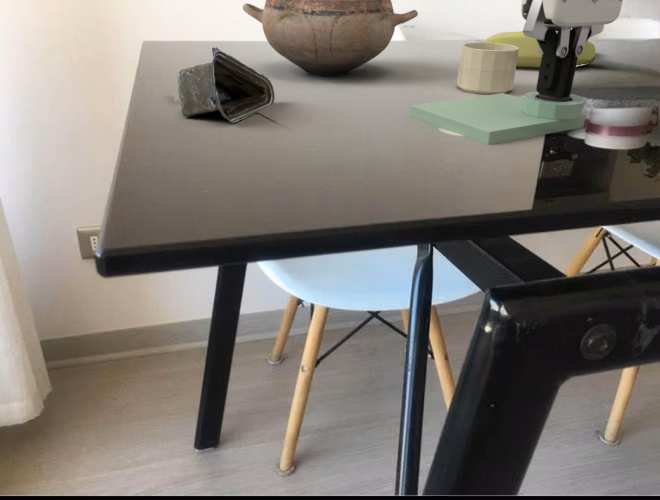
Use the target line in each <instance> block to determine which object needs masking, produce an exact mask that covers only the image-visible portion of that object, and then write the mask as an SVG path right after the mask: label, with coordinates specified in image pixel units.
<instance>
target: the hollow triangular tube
mask: <svg viewBox="0 0 660 500" xmlns="http://www.w3.org/2000/svg"><path fill="white" fill-rule="evenodd" d="M211 52H212V57H213V59H212V60H211V61H212V62H206V63H204V64H198V65H195V66H193V67H192V66H191V67H186V68H182V69H180V70H178V72H177V95H178V98H179V110H180V113H181V115H182V116H183V117H192V116H196V115H204V114H209V113H211V112H212V113H213V112H217V111H219V112H220V114H221V115H222V117H223V118H224V119H226V120H227V121H228V122H231V123H236V122H240V120H241V121H242V120H245V119H246V118H249V117H250V116H253V115H255V114H257V113H258V112H259V111H261V110H262V109H264V108H268V107H269V106H272V105H274V102H275V99H276V97H275V90H274V85H273V84H272V81H271V80H270V79H269V76H265V75H264V74H263V73H258V72H257V70H255V69H253V68H252V67H249V66H248V65H246V64H245V63H243V62H242V61H240V60H239V59H236V58H235V57H233V56H232V55H231V54H228V53H226V52H224V51H222V50H221V49H220V48H218V47H217V46H216V47H212V48H211Z"/></svg>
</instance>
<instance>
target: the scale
mask: <svg viewBox="0 0 660 500" xmlns="http://www.w3.org/2000/svg"><path fill="white" fill-rule="evenodd" d="M538 96H539V93H538V92H537V91H531V92H530V91H529V92H526V93H525V94H524V95H523V96H522V97H519V96H515V95H512V94H508V93H500V94H492V95H490V94H484V95H478V96H471V97H462V98H456V99H448V100H441V101H440V100H439V101H432V102H425V103H417V104H411V105H410V115H409V117H411V118H413V119H415V120H418V121H421V122H424V123H426V124H429V125H432V126H435V127H437V128H440V129H444V130H446V131H449V132H451V133H454V134H456V135H460V136H462V137H465V138H469V139H471V140H473V141H476V142H479V143H482V144H484V145H487V146H490V145H494V144H495V145H496V144H500V143H507V142H512V141H516V140H517V141H518V140H521V139H527V138H533V137H539V136H544V135H549V134H554V133H560V132H566V131H571V130H576V129H581V128H584V126H585V121H586V117H587V115H586V114H584V110H585V103H586V99H585V98H583V97H581V96H579V95H575V94H572V93H571V94H570V96H571V97H570V101H568V102H554V101H546V100H542V99H538Z"/></svg>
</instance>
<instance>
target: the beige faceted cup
mask: <svg viewBox="0 0 660 500" xmlns="http://www.w3.org/2000/svg"><path fill="white" fill-rule="evenodd" d="M518 51H519V48H518V47H516V46H513V45H508V44H501V43H489V42H484V41H475V42H473V41H472V42H464V43H461V45H460V52H459V60H458V69H457V77H456V78H457V79H456V86H457V87H458V88H459V89H460V90H462V91H464V92H467V93H471V94H477V95H492V94H500V93H504V94H508V93H509V92H510V91H512V90H513V89H514V82H515V76H516V72H517V71H516V70H517V66H516V64H517V57H518Z"/></svg>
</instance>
